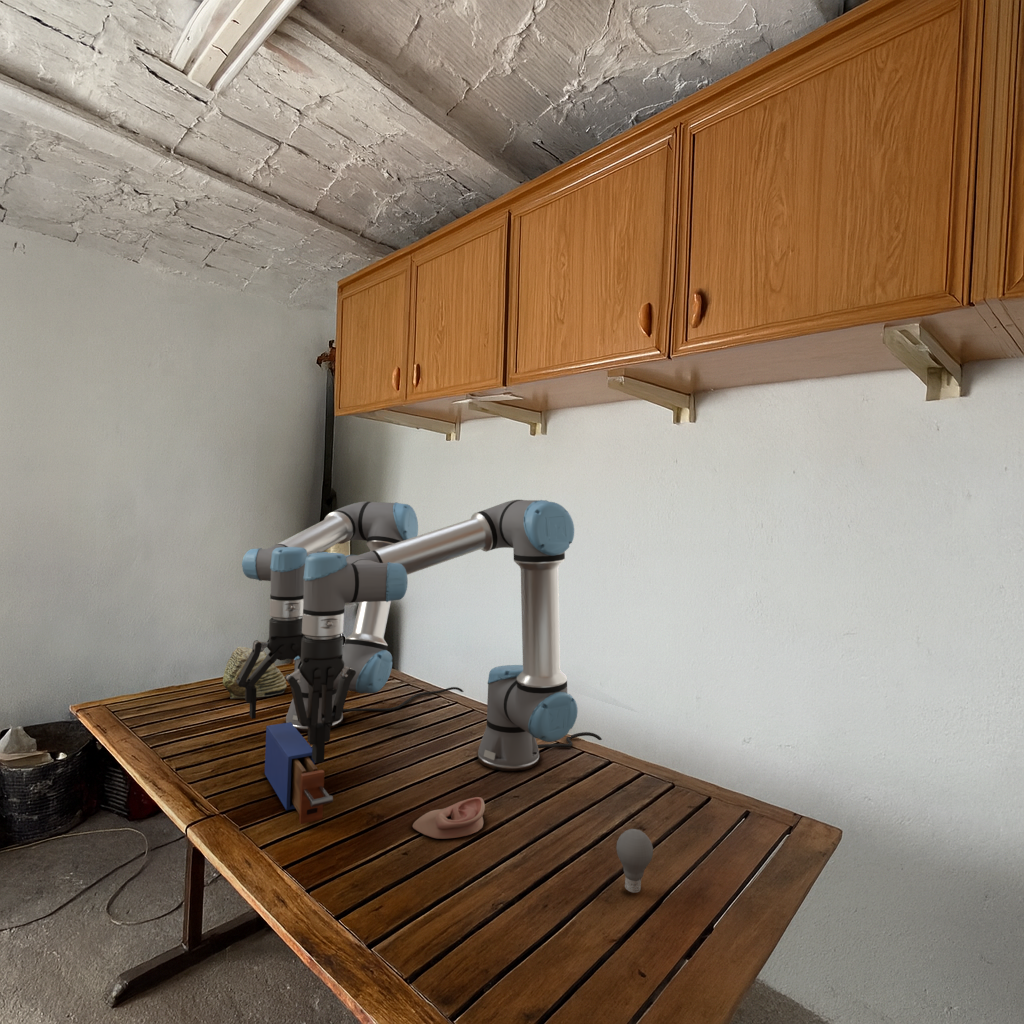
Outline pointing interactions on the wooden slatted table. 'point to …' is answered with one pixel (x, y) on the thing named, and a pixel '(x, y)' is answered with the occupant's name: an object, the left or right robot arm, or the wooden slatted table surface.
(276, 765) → the cabinet
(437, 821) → the anatomical model
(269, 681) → the fossil
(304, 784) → the drawer
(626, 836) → the light bulb
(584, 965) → the wooden slatted table surface
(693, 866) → the wooden slatted table surface
